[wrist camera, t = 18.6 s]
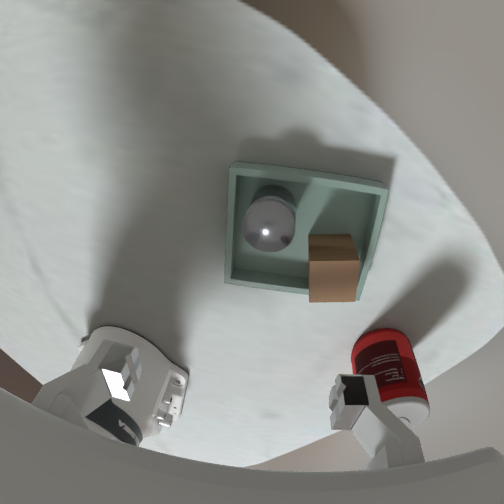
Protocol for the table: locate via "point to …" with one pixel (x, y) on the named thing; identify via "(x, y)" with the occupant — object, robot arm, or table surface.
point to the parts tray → (300, 223)
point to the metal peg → (270, 219)
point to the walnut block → (332, 268)
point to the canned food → (393, 374)
